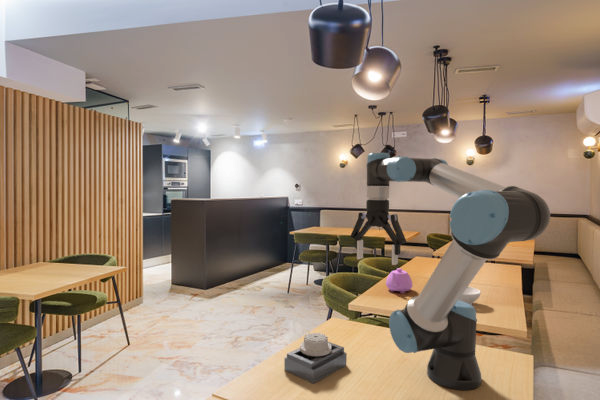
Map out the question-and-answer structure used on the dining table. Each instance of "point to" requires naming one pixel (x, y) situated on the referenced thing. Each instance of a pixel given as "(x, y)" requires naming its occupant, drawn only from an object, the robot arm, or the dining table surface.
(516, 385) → the dining table surface
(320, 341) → the mechanical component
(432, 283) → the robot arm
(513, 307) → the dining table surface
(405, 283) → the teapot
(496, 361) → the dining table surface
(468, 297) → the bowl
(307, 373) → the dark grey rectangular box
